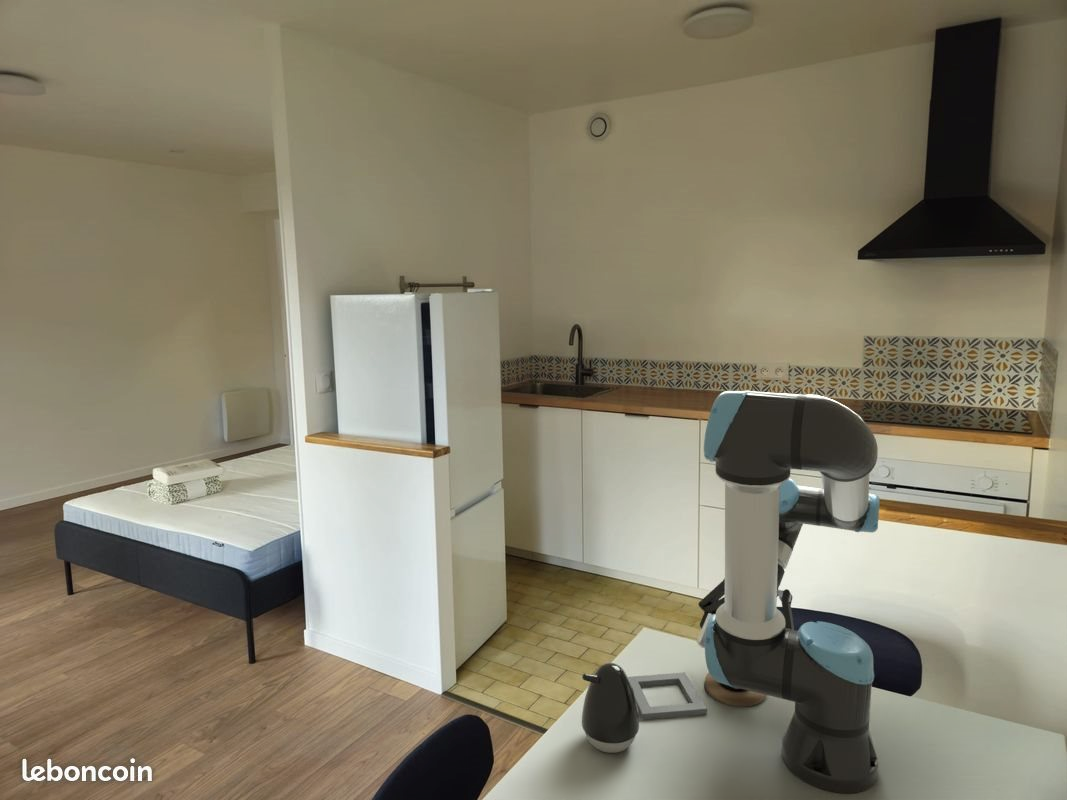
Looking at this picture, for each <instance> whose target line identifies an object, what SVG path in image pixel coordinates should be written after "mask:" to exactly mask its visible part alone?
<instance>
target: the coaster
mask: <svg viewBox="0 0 1067 800" xmlns="http://www.w3.org/2000/svg"><path fill="white" fill-rule="evenodd" d="M704 689H705V691H706V692H707V694H708V695H709V696H710V697H712V698H713V699H714V700H717V701H719V702H721V703H723V704H726V705H729V706H733V707H740V708H741V707H743V708H744V707H752V706H756V705H759V704H761V703H762V702H764V700H765V698H766V696H767V695H765V694H761V693H757V692H753V691H749V690H747V691H744V692H732V691H729V690H726V689H724V688H723V687H721V686H720V685H719V683H718V682H717V681H716V680H714V679H713V678H712V677H711V675H710V673H709V672H708V673H706V676H705V677H704Z"/></svg>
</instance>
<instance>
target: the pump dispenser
mask: <svg viewBox="0 0 1067 800" xmlns="http://www.w3.org/2000/svg"><path fill="white" fill-rule="evenodd" d="M581 677H582V680H583V681H586V682H589V684H588V688H587V690H586V693H585V695H584V696H585V697H584V700H583V701H584V702H583V708H582V712H581V726H582V729H583V731H584V733H585V736H586V738H587V740H588V742H589V743H590V744H591V745H592V746H593V747H594V748H595V749H597V750H599V751H601V752H604V753H610V754H615V753H620V752H623V751H625V750H627V749H628V748H629V747H630V746H631V745H632V744H633V742H634V740H635V738H636V736H637V735H638V732H639V729H640V716H639V715H640V714H639V710H638V708H637V702H636V698H635V694H634V691H633V688H632V685H631V683H630V681H629V678H628V677H629V676H628V675H627V673H626V671H625V670H624V669H623V667H622V666H621V665H619V664H617V663H614V662H606V663H603V664H602V665H600V666H599V667H598V668H597V669H596V671H595V672H594V673H593V674H590V673H582V676H581Z"/></svg>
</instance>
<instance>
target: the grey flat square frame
mask: <svg viewBox="0 0 1067 800" xmlns="http://www.w3.org/2000/svg"><path fill="white" fill-rule="evenodd" d="M628 678H629V681H630V683H631V685H632V688H633V691H634V694H635V698H636V702H637V708H638V714H639V715H640V718H641V719H642V721H644V720H646V721H647V720H653V719H654V720H655V719H656V720H657V719H666V718H669V719H670V718H677V717H690V716H702V715H704V716H705V715H708V708H707V706H706V704H705V703H704V701H703V700H702V698H701V696H700V695H699V693H698V691H697V690H696V688H695V686H694V684H693V683H692V682H691V680H690V678H689V676H688V675H687V673H686V672H672V673H671V672H670V673H663V674H662V673H660V674H650V675H649V674H647V675H646V674H645V675H635V676H628ZM665 685H666V686H668V685H679V687H680V689H681V690H682V692H683V694H684V696H685V697H686V699H687V700H688V702H689V703H681V704H679V703H677V704H667V705H656V706H651V705H650V704H649V702H648V700H647V697H646V695H645V694H644V691H643V689H642V687H643V688H644V687H656V686H665Z"/></svg>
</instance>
